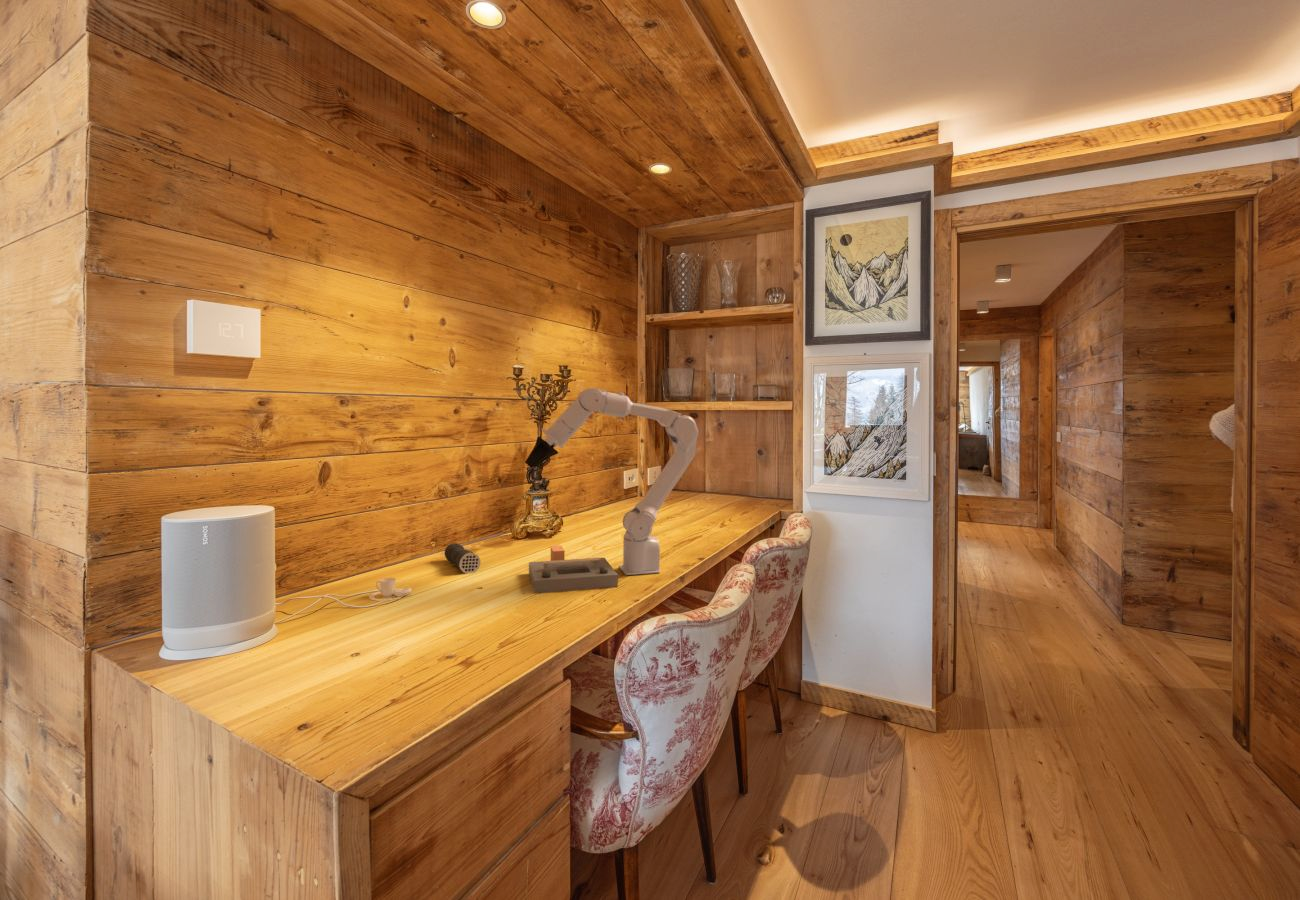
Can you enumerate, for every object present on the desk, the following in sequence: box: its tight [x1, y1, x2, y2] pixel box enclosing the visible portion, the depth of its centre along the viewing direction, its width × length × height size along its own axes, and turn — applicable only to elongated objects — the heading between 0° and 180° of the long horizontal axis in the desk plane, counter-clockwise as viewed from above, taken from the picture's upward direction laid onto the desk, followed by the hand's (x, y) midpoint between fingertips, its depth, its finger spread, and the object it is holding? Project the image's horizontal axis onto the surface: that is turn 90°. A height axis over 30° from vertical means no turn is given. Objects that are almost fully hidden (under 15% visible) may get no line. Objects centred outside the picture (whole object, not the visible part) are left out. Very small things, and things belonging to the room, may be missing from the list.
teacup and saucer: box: [368, 577, 412, 602], centre depth 130 cm, size 9×8×4 cm
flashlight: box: [444, 542, 482, 575], centre depth 154 cm, size 15×5×5 cm, turn 36°
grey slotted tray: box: [528, 557, 619, 594], centre depth 143 cm, size 20×16×5 cm
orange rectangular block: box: [550, 544, 565, 561], centre depth 155 cm, size 3×6×5 cm, turn 16°
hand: (529, 465), depth 144 cm, fingers open, 7 cm apart
